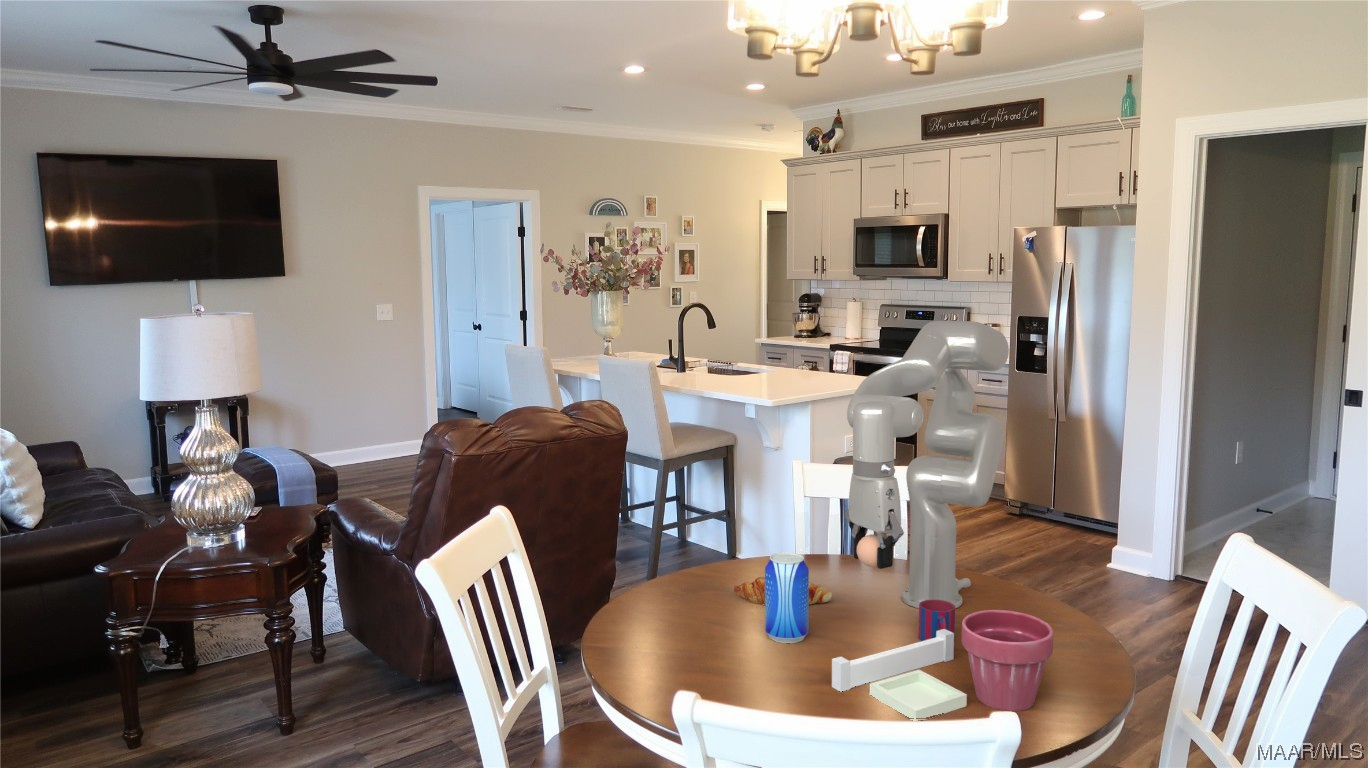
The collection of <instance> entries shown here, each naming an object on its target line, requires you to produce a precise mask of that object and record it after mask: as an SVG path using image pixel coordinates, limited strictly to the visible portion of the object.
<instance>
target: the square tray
mask: <svg viewBox="0 0 1368 768" xmlns="http://www.w3.org/2000/svg"><path fill="white" fill-rule="evenodd" d="M870 695H872V696H873V697H875V698H876V699H875V698H874V699H875V700H877V699H878V700H879V702H880V701H881V702H880V703H882V704H883V703H884V705H885V704H886V705H885V706H887V705H888V706H890V707H892V708H893V709H895V710H897V711H898V712H900V713H902V714H904V715H905V716H907V717H909V718H914V719H909V720H910V721H912V720H913V721H918V720H923V721H926V720H927V719H916V718H926V717H930V716H933V715H938V714H941V715H943V714H942V713H944V714H948V713H950V712H953V711H956V710H959V709H962V708H965V707H967V703H968V702H967V701H968V700H967V697H968V694H967V693H964V692H963V691H961V690H959V689H956V688H955V687H953V686H952V685H950V684H948V683H946V682H943V681H941V680H940V679H938V678H936V677H934V676H932V675H931V674H928V673H927V672H925V671H923V670H921V669H915V670H911V671H908V672H904V673H901V674H897V675H894V676H890V677H887V678H884V679H880V680H877V681H873V682H870V683H869V696H870ZM872 696H871V697H872ZM873 697H872V698H873ZM878 700H877V701H878ZM888 706H887V707H888ZM890 707H889V708H890ZM892 708H891V709H892ZM893 709H892V710H893ZM895 710H894V711H895ZM897 711H896V712H897ZM898 712H897V713H898ZM900 713H899V714H900ZM902 714H901V715H902ZM905 716H904V717H905ZM938 716H939V715H938ZM907 717H906V718H907ZM913 721H912V722H913Z"/></svg>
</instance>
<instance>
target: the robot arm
mask: <svg viewBox="0 0 1368 768" xmlns="http://www.w3.org/2000/svg"><path fill="white" fill-rule="evenodd" d="M1009 350H1010V348H1009V343H1008V340H1007V338H1006V336H1005V335H1004V334H1003V332H1001V331H1000V330H997V329H995V328H993V327H991V326H989V325H987V324H985V323H983V322H979V321H975V320H974V321H971V320H968V321H967V320H964V321H963V320H934V321H929V322H928V323H926V324H925V325H924V326H923V327H922V328H920V330H919V332H918V333H917V335H916V337H915V338H914V339H913V341H912V343H911V344H910V346H909V347H908V349H907V350H906V351H905V353H904V354H903V357H902V358H901V359H899V360H897V361H894V362H892V363H890V364H888V365H886V366H883V367H882V368H880V369H878V370H876V371H874V372H872V373H870V374H869V375H868V376H867V377H866V378H865V379H863V380H862V381H861V382H860V384H859V386H858V387H857V388H856V390H855V391H854V393H853V395H852V397H851V399H850V401H849V404H848V406H847V410H846V418H847V421H848V424H849V426H850V427H851V428H852V473H851V479H850V485H849V493H848V494H849V495H848V509H847V510H846V511H845V512H844V514H843V515H844V518H845V519H846V520H847V522H848V526H849V529H850V530H851V537H852V538H853V558H854V559H856V560H859V558H858V556H857V545H858V543H859V541H860V540H861V539H862V538H863V537H865V536H867V535H868V532H869V531H873V532H875V533H876V535H877V536H878V541H879V545H880V547H878V548H877V567H876V568H877V569H879V570H882V569H887V568H890V567H893V559H894V558H893V555H894V554H893V552H894V551H893V548H894V547H896V543H897V542H898V541H899V540H900V539H901V537H903V535H904V534H905V531H904V529H903V528H902V510H901V509H902V507H901V495H900V488H899V484H898V478H897V477H895V473H896V469H895V438H906V437H911V436H913V435H915V434H916V433H917V432H918V431H919V430H920V429H921V427H922V426H923V422H924V418H925V417H924V416H925V414H924V409H923V407H922V405H921V404H920V402H919V401H917V400H916V399H914V398H911V397H907V396H911V395H916V394H919V393H922V392H925V391H929V390H931V389H933V388H934V387H935V392H934V398H933V402H932V405H931V409H930V413H929V416H928V419H927V420H928V421H927V423H926V428H925V432H924V433H925V435H924V444H925V446H926V447H927V449H928V450H929V451H932V452H934V453H936V454H941V455H947V456H953V457H947V456H939V455H921V456H918V457H915V458H913V459H912V460H911V461H910V463H909V464H908V466H907V468H906V474H905V475H906V478H905V479H906V487H907V491H908V498H909V511H910V513H909V514H910V515H909V516H910V517H909V518H910V519H909V520H910V521H909V522H910V524H909V525H910V526H909V529H910V530H909V575H908V576H909V577H908V578H909V579H908V581H909V583H908V587H907V588H906V589H904V590H903V591H902V592H901V600H902V602H904V603H905V604H907V605H908V606H910V607H914V608H916V609H919V603H920V602H922V601H924V600H931V599H935V600H943V601H947V602H950V603H952V604H953V605H955V609H957V608H959V607H961V605H962V604H963V597H962V595H961V594H959V591H961V589H965V588H968V587H971V585H972V582H971V579H969V578H968V577H964V578H959V579H958V578H957V577H956V559H957V557H956V555H957V553H956V551H957V520H956V518H955V513H953V510H952V509H951V507H950V506H949V505H950V504H951V505H956V506H964V507H973V508H979V507H983V506H984V505H986V504H987V502H988V501H989V499H990V498H991V494H992V491H993V488H994V487H993V486H994V483H995V478H996V473H997V470H998V465H999V460H1000V455H1001V451H1002V446H1003V439H1004V435H1003V434H1004V432H1003V428H1002V427H1003V426H1002V424H1001V422H1000V420H999V419H998V418H997V417H996V416H994V415H991V414H988V413H980V412H973V409H974V406H975V403H976V393H975V389H974V388H973V386H972V384H971V382H970V381H969V380H968V378H967V377H966V376H965V375H964V373H963V371H962V370H966V371H981V372H982V371H984V372H996V371H999V370H1001V369H1002V368H1003V367H1004V366H1005V364H1006V363H1007V361H1008V359H1009V353H1010V351H1009ZM955 456H957V457H962V458H954V457H955ZM963 457H964V458H971V459H963ZM868 530H869V531H868ZM885 534H886V537H885Z"/></svg>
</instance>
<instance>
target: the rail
mask: <svg viewBox="0 0 1368 768" xmlns="http://www.w3.org/2000/svg"><path fill="white" fill-rule="evenodd" d="M954 642H955V641H954V633H952V632H950V631H948V630H946V629H942V630H938V631H936V638H932V639H929V640H925V641H918V642H914V643H911V644H907V645H903V646H899V647H896V648H893V649H888V650H885V651H881V652H877V653H874V654H869V655H867V656H862V657H859V658H855V659H851V660H849V659H847V658H845V657H843V656H837V657H834V658H831V688H833V689H835V690H836V691H838V692H839V691H840V692H839V693H843V692H847V691H850V689H851V688H855V686H856V687H859V686H863V685H866V684H870V683H874V682H877V681H881V680H884V679H888V678H891V677H895V676H898V675H902V674H905V673H909V672H912V671H915V670H919V669H921V668H924V667H927V666H928V667H929V666H931V665H934V664H939V663H941V662H944V663H946V662H949V661H952V660H954V652H955V651H954V649H955V647H954V646H955V643H954ZM869 682H870V683H869ZM865 683H866V684H865ZM846 690H847V691H846ZM842 691H843V692H842Z"/></svg>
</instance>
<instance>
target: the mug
mask: <svg viewBox="0 0 1368 768" xmlns="http://www.w3.org/2000/svg"><path fill="white" fill-rule="evenodd" d="M942 629H946V630H948V631H950V632H952V633H954V642H955V636H956V633H955V632H956V608H955V605H953V604H952V603H950V602H947V601H943V600H935V599H931V600H924V601H922V602H920V603H919V608H918V639H919V640H921V641H925V640H929V639H932V638H936V631H938V630H942ZM921 641H920V642H921Z"/></svg>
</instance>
